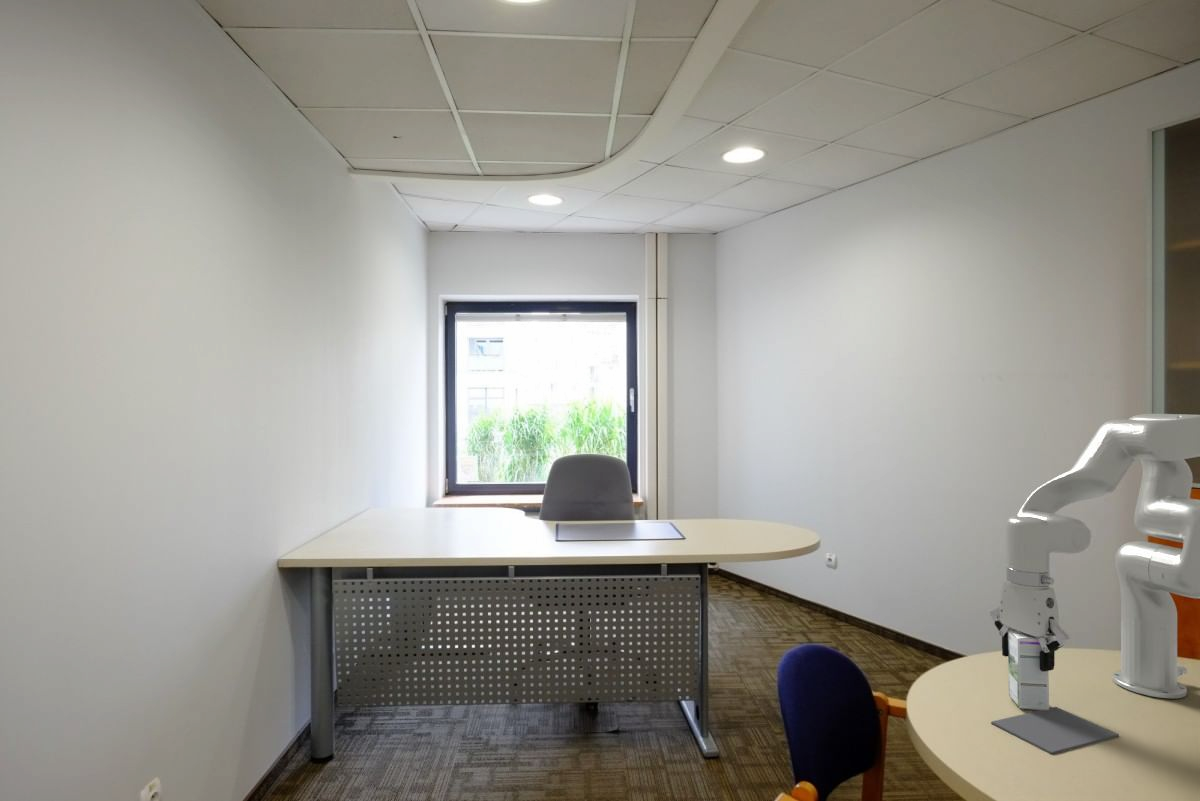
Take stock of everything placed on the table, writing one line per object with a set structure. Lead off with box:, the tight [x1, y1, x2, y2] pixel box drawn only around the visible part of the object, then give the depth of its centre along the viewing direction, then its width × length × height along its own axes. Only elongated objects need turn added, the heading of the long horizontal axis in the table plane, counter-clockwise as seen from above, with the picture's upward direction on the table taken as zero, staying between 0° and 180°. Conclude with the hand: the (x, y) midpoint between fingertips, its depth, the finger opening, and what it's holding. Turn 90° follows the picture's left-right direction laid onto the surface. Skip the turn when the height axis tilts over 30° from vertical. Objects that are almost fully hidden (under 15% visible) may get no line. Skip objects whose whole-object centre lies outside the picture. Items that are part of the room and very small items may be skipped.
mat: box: [990, 706, 1120, 755], centre depth 128 cm, size 18×12×1 cm, turn 110°
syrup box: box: [1007, 629, 1050, 711], centre depth 138 cm, size 6×6×14 cm
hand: (1027, 662), depth 138 cm, fingers closed on syrup box, 7 cm apart
